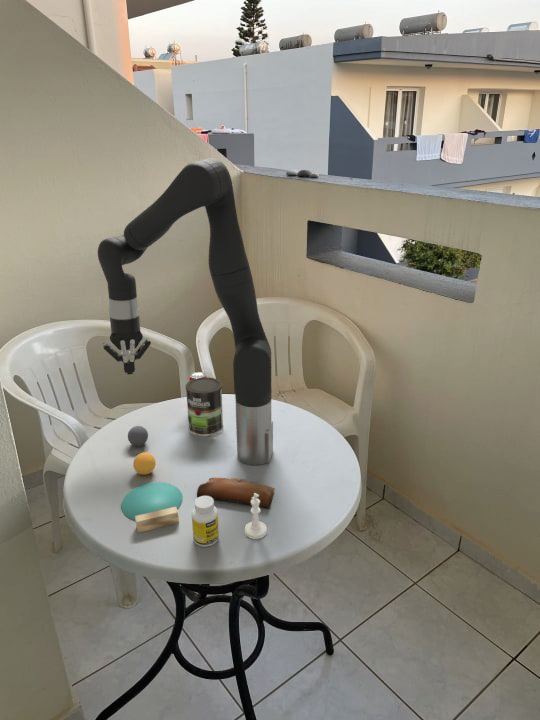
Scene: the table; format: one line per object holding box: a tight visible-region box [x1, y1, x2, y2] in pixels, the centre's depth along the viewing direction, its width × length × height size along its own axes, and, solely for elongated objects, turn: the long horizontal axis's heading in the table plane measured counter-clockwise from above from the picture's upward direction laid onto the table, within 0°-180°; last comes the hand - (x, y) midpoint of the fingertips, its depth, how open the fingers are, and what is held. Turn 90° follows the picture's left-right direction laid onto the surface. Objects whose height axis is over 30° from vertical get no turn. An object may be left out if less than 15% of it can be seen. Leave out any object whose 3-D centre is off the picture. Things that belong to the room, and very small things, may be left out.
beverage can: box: [189, 371, 207, 381], centre depth 157 cm, size 5×5×12 cm
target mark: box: [121, 481, 183, 522], centre depth 119 cm, size 14×14×1 cm
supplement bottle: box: [191, 496, 220, 548], centre depth 106 cm, size 5×5×10 cm
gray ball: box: [127, 425, 149, 447], centre depth 140 cm, size 6×6×6 cm
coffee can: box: [185, 376, 224, 437], centre depth 147 cm, size 10×10×14 cm
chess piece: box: [244, 493, 268, 540], centre depth 108 cm, size 5×5×10 cm
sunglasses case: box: [196, 477, 275, 509], centre depth 121 cm, size 18×7×7 cm, turn 78°
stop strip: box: [135, 507, 180, 534], centre depth 111 cm, size 9×2×3 cm, turn 110°
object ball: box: [132, 452, 156, 476], centre depth 128 cm, size 6×6×6 cm
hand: (129, 373), depth 140 cm, fingers closed
